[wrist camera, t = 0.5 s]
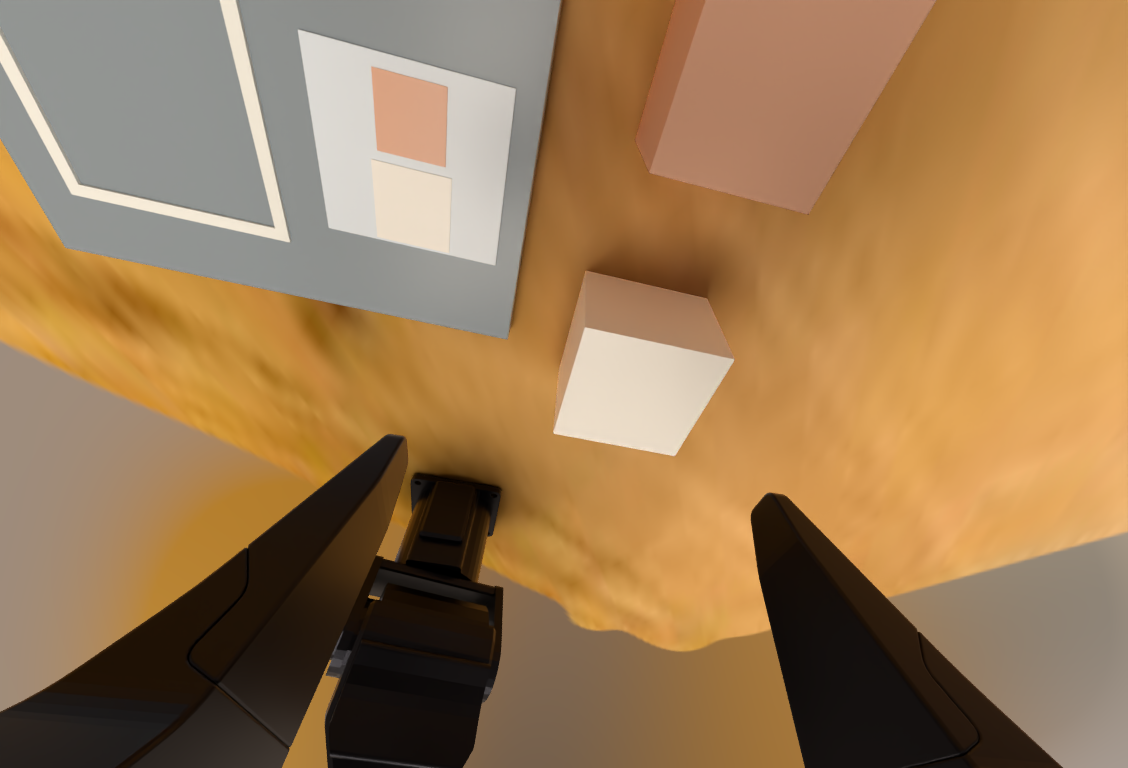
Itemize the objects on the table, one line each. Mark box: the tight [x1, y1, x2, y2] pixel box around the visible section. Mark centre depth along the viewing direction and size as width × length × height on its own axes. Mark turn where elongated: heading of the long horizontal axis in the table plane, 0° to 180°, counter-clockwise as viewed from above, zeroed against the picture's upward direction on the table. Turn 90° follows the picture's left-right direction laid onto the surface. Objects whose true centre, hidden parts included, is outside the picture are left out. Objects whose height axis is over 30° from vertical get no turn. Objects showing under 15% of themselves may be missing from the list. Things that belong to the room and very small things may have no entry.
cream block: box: [553, 271, 735, 456], centre depth 19 cm, size 6×6×5 cm
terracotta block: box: [635, 0, 936, 215], centre depth 12 cm, size 5×5×5 cm
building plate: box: [0, 0, 563, 339], centre depth 15 cm, size 14×20×1 cm
